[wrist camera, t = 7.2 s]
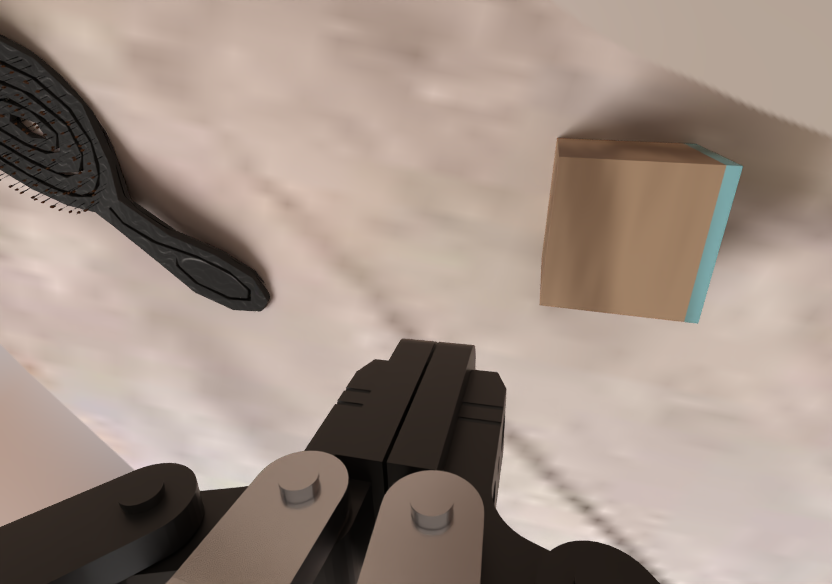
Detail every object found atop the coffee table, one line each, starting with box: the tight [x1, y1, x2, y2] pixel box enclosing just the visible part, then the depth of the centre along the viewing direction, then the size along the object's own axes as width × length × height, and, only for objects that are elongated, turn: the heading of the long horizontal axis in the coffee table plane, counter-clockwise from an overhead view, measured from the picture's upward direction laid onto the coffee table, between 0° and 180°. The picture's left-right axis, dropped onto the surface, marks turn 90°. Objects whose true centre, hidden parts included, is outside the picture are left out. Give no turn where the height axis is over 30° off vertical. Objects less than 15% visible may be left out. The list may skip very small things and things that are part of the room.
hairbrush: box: [0, 35, 270, 311], centre depth 29 cm, size 8×4×25 cm
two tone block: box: [540, 138, 743, 323], centre depth 21 cm, size 6×6×6 cm
